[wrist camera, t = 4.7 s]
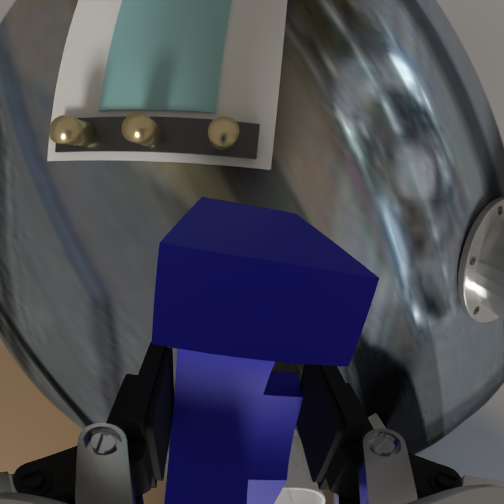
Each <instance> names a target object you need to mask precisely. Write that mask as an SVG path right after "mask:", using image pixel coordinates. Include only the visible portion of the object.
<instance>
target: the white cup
mask: <svg viewBox="0 0 504 504" xmlns="http://www.w3.org/2000/svg"><path fill="white" fill-rule="evenodd" d="M325 502H326V501H325V497H324V494H323V492H322V490H319V487H318V484H317V482H313V481H312V479H311V476H310V472H309V468H308V465H307V461H306V457H305V453H304V450H303V446H302V442H301V440H300V437H299V435H298V433H297V431H296V429H295V431H294V435H293V440H292V445H291V451H290V458H289V465H288V474H287V481H286V483H285V485H284V487H283V488H282V490H281V492H280V494H279V496H278V497H277V499H276V501H275V503H274V504H325Z"/></svg>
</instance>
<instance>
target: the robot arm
mask: <svg viewBox="0 0 504 504" xmlns="http://www.w3.org/2000/svg"><path fill="white" fill-rule="evenodd" d="M458 291H459V298H460V302H461V305H462V307H463V309H464V311H465V312H466V313H467V314H468V315H469V316H470V317H471V318H473V319H474V320H476V321H478V322H482V323H486V322H491V321H493V320H496V319H498V318H499V317H501V318H503V319H504V197H500V198H497V199H494V200H493V201H492V202H490V203H489V204H488V205H486V207H485V208H484V209H483V210H482V211H481V212H480V214H479V215H478V217H477V218H476V220H475V221H474V223H473V225H472V227H471V229H470V231H469V234H468V236H467V239H466V242H465V244H464V247H463V251H462V255H461V259H460V266H459V272H458ZM300 389H301V392H302V395H303V400H302V404H301V409H300V412H299V416H298V419H297V423H296V424H297V428H298V431H299V435H300V439H301V442H302V446H303V450H304V453H305V457H306V461H307V465H308V468H309V472H310V476H311V479H312V481H313V482H317V484H318V487H319V490H322V489H330V491H332V492H334V504H504V481H499V480H491V479H484V478H477V477H471V476H466V475H464V476H463V477H462V478H461V477H460V476H459V474H458V473H457V472H456V471H455V470H453V469H451V468H449V467H447V466H444V465H441V464H437V463H435V462H432V461H429V460H427V459H424V458H421V457H418V456H416V455H413V454H411V453H408V452H407V448H406V444H405V442H404V439H403V438H402V437H401V436H400V435H399V434H397V433H396V432H394V431H392V430H389V429H383V428H380V429H374V428H373V426H372V425H371V423H370V421H369V419H368V417H367V415H366V413H365V411H364V409H363V408H362V406H361V404H360V402H359V400H358V398H357V396H356V394H355V393H354V391H353V389H352V387H351V386H350V384H348V383H345V381H344V379H343V377H342V376H341V374H340V372H339V370H338V368H337V366H329V365H312V364H304V369H303V373H302V377H301V382H300ZM173 408H174V382H173V352H172V348H170V347H167V346H161V345H156V344H152V342H151V343H150V345H149V348H148V350H147V353H146V355H145V358H144V361H143V363H142V366H141V369H140V371H139V374H138V375H132V374H127V375H126V376H125V378H124V380H123V383H122V385H121V387H120V390H119V392H118V395H117V397H116V400H115V402H114V405H113V407H112V410H111V412H110V415H109V417H108V420H107V422H106V423H95V424H92V425H89V426H88V427H86V428H85V429H83V430H82V432H81V433H80V435H79V438H78V446H75V447H72V448H70V449H67V450H64V451H62V452H59V453H56V454H53V455H50V456H47V457H44V458H41V459H38V460H35V461H32V462H29V463H26V464H24V465H22V466H20V467H19V468H18V469H17V470H16V471H15V474H9V473H8V472H0V504H144V500H143V494H144V493H146V492H148V491H149V490H151V488H156V486H157V480H159V481H163V478H164V471H165V464H166V458H167V451H168V445H169V439H170V432H171V426H172V419H173Z"/></svg>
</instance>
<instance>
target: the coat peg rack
mask: <svg viewBox="0 0 504 504" xmlns="http://www.w3.org/2000/svg"><path fill="white" fill-rule="evenodd" d="M259 130H260V124H256V123H247V122H237V121H235V120H234V119H232V118H230V117H228V116H220V117H217V118H215V119H200V118H182V117H149V116H147V115H145V114H143V113H140V112H135V113H132V114H130V115H128V116H122V117H89V118H72V117H68V116H65V115H61V116H58V117H56V118H55V119H54V120H53V121H52V123H51V125H50V128H49V136H50V138H51V140H52V141H53V142H55V143H56V146H55V152H59V153H63V152H156V153H179V154H196V155H210V156H223V157H235V158H245V159H256V158H257V149H258V139H259Z"/></svg>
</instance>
